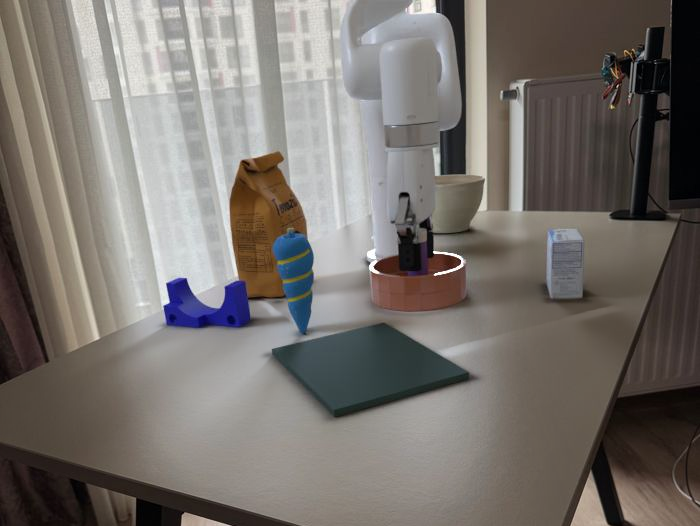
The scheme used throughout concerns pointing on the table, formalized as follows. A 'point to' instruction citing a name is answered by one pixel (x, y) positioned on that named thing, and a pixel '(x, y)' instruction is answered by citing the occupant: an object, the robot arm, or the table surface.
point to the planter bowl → (456, 202)
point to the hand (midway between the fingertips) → (417, 262)
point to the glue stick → (423, 241)
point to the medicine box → (565, 263)
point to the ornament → (296, 274)
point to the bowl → (418, 283)
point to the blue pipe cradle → (197, 314)
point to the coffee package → (262, 222)
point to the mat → (366, 367)
